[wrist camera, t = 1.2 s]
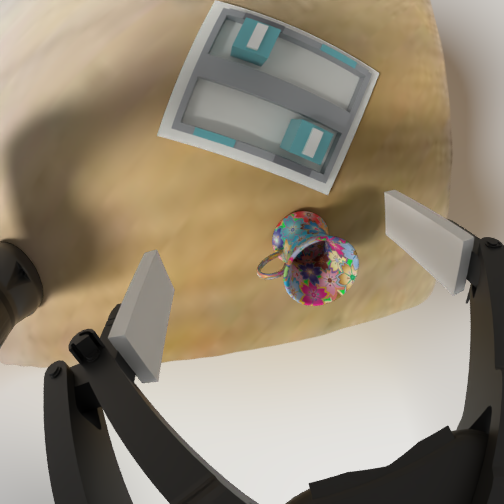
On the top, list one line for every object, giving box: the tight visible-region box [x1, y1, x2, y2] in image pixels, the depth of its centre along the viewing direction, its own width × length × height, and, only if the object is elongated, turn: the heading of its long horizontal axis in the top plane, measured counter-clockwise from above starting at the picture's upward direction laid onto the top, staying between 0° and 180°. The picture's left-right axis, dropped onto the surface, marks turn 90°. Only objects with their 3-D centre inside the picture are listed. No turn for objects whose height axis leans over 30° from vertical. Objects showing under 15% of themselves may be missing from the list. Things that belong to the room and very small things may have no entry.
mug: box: [257, 211, 359, 306], centre depth 36 cm, size 12×9×11 cm
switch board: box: [157, 0, 379, 195], centre depth 30 cm, size 24×20×3 cm
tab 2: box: [280, 119, 334, 165], centre depth 30 cm, size 4×4×6 cm
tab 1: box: [230, 17, 281, 66], centre depth 24 cm, size 4×4×6 cm
